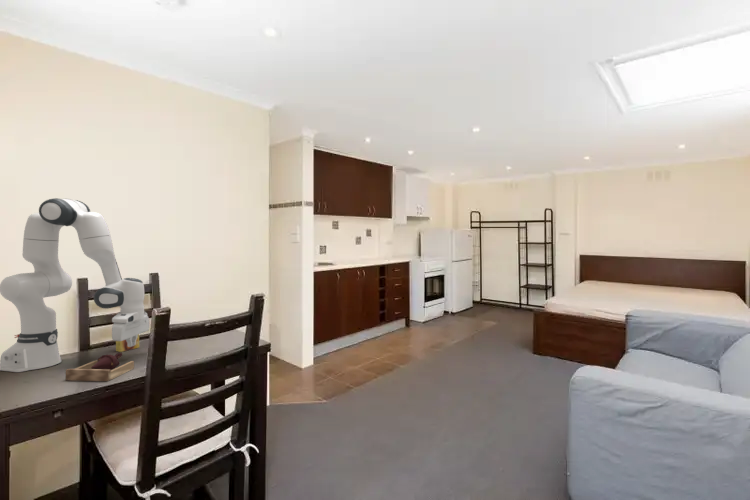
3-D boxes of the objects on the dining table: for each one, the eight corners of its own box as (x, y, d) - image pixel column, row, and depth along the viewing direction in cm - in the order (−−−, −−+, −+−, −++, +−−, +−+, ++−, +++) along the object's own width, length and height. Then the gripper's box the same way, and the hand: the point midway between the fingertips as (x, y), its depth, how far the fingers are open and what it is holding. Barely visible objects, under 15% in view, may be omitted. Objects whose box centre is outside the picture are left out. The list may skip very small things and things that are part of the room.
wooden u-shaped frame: (65, 380, 142) (65, 369, 142) (95, 367, 156) (95, 357, 156) (108, 381, 141) (108, 370, 141) (134, 368, 155) (133, 358, 155)
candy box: (134, 346, 187) (134, 315, 187) (139, 347, 185) (139, 316, 185) (115, 351, 179) (114, 319, 179) (120, 352, 177) (120, 320, 177)
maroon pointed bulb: (103, 361, 144) (130, 353, 159) (85, 356, 145) (114, 348, 160) (97, 379, 144) (126, 369, 159) (80, 374, 144) (109, 364, 159)
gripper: (140, 310, 177) (139, 339, 178) (108, 319, 157) (108, 352, 157) (153, 310, 177) (152, 340, 178) (124, 320, 157) (123, 353, 157)
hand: (131, 346), depth 167 cm, fingers closed
